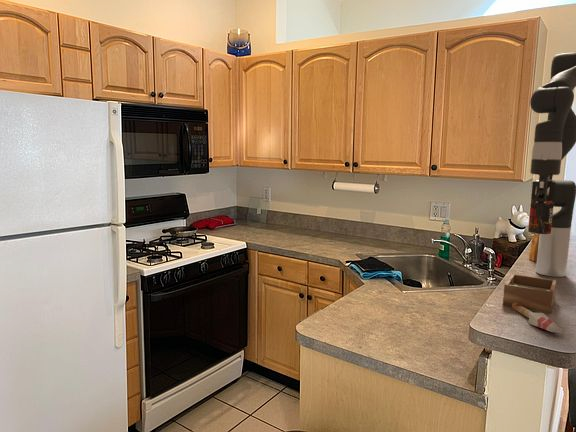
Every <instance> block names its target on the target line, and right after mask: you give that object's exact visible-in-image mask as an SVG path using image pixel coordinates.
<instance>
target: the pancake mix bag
mask: <svg viewBox="0 0 576 432" xmlns="http://www.w3.org/2000/svg"><path fill="white" fill-rule="evenodd" d="M539 236H540V234H537V233H533V235H532V239H531V243H530V248H529V253H528V254H529V255H528V257H529V258H528V259H529V261H532V262H536V263H537V256H538V246H539Z"/></svg>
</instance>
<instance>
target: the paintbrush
mask: <svg viewBox="0 0 576 432" xmlns="http://www.w3.org/2000/svg"><path fill="white" fill-rule="evenodd" d="M511 308H512V309H513V310H515V311H517V312H518V313H520V314H521V315H523V316H525V317H526V318H527V319H528V321H527V324H529V325H531V326H535V327H537V328H541V329H542V330H546V331H548V332H551V333H564V330H562V329H561V328H560V326H558V325H557V324H556V323H555V322H554V321H553V320H552V319H551V318H550V317H549V316H547V314H546V313H541V312H534V311H530V310H528V309H526V308H524V307H523V306H521V305H519V304H518V303H513V304H512V307H511Z"/></svg>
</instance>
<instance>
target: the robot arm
mask: <svg viewBox="0 0 576 432" xmlns="http://www.w3.org/2000/svg"><path fill="white" fill-rule="evenodd" d="M575 88H576V51H575V52H564V53H558V54H555V55H554V56H553V58H552V61H551V67H550V80H549V81H548V82H547V83H545V84H544V85H541V86H540V87H537V89H535V91H534V92H533V94H531V97H530V101H529V104H530V108H531V109H532V111H533V112H534V113H537V114H547V120H545V121H544V120H543V121H541V122H537V123H536V125H535V128H534V139H533V140H534V141H533V147H532V152H531V162H530V174H531V175H538V180H535V181H536V182H537V183H536V184H537V187H536V191H535V195H536V199H535V200H536V203H538V204H536V216H537V217H544V214H545V204H546V202H547V201H546V199H547V197H548V196H549V189H550V187H549V188H548V189H547V184H548V182H556V185H555V196H554V206H553V208H554V207H555V208H556V207H558V208H560V210H558V211H556V212H555V213H554V212H553V216H552V227H551V234H540V236H539V246H538V256H537V262H536V265H535V266H536V267H535V268H536V269H535V272H536V273H537V274H540V275H542V276H547V277H553V278H554V277H555V278H563V277H566V276H567V268H568V267H567V266H568V258H569V249H570V243H571V242H570V241H571V232H572V231H571V230H572V229H571V228H572V222H573V215H574V210H575V208H574V207H575V202H576V183H575V181H573V180H564V179H562V180H559V179H553V177H554V176H559V175H560V174H561V165H562V160H564V158H565V157H566V156H567V155H568V154H569V152H570V151H571V150H572V149H573V148H574V146H575V144H576V113H575V111H574V110H573V109H572V106H573V103H574V99H575V94H574V89H575ZM546 191H547V192H546ZM539 196H544V198H539Z"/></svg>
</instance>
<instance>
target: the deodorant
mask: <svg viewBox="0 0 576 432" xmlns="http://www.w3.org/2000/svg"><path fill="white" fill-rule="evenodd" d="M536 181H537V180H535V181H534V180H533V181H532V185H531V194H530V205H529V206H530V207H529V216H528V218H529V219H528V230H527V232H528V233H531V234H534V233H537V234H551V227H552V216H553V214H554V207H553V206H554V196H555V185H556V182H548V184H547V189H548V188H549V187H550V189H549V196H548V197H547V199H546V201H547V202H546V204H545V214H544V217H537V216H536V204H538V203H536V200H535V199H536V195H535V191H536V187H537V184H536V183H537V182H536ZM546 192H547V191H546ZM539 198H544V196H539Z"/></svg>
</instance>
